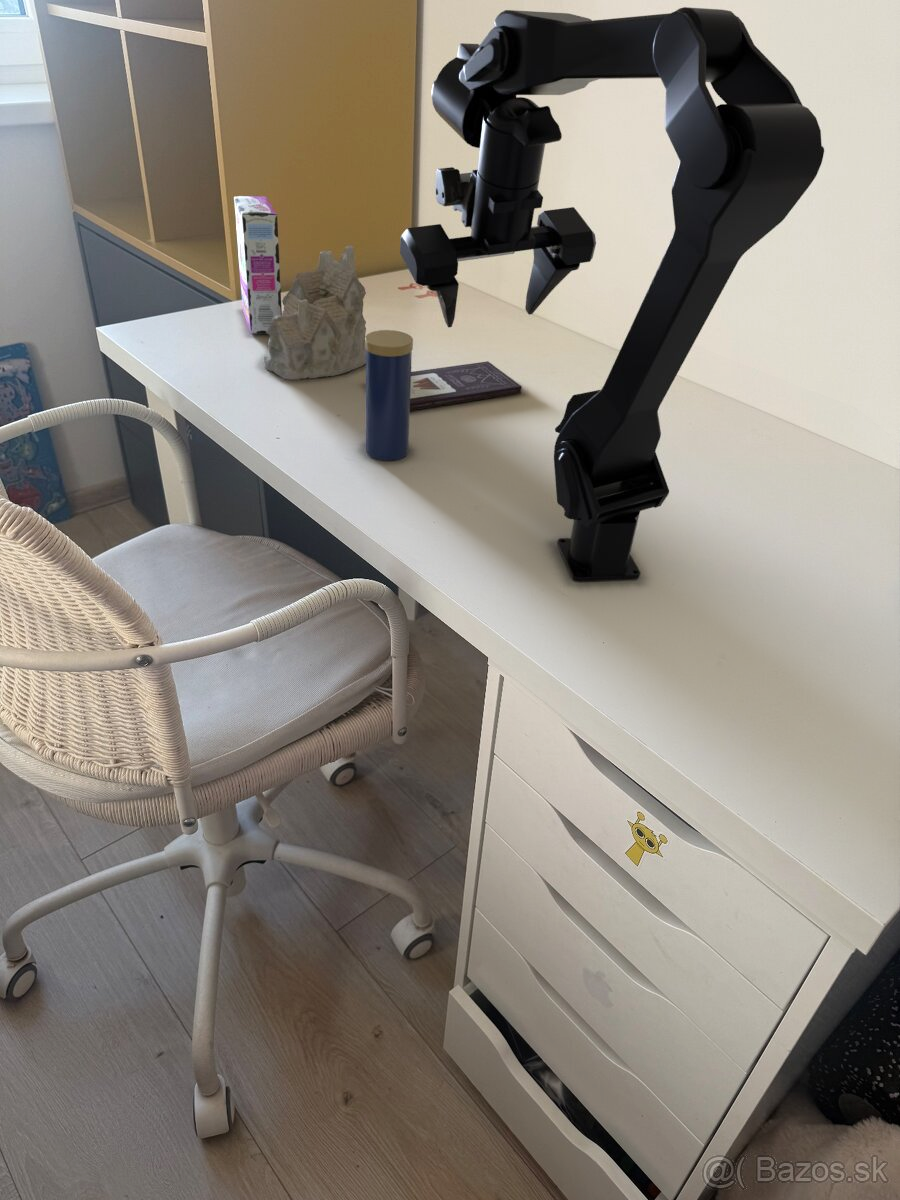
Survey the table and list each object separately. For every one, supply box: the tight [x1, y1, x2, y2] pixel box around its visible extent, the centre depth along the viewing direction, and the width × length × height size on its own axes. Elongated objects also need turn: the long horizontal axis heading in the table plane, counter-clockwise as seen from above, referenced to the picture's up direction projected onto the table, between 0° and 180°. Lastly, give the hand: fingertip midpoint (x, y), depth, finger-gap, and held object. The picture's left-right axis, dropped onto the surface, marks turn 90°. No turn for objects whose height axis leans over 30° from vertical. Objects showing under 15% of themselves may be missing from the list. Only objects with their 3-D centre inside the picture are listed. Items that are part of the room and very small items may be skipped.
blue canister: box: [365, 329, 414, 462], centre depth 90 cm, size 5×5×13 cm
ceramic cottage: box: [263, 245, 367, 381], centre depth 111 cm, size 16×16×15 cm
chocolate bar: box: [410, 360, 522, 411], centre depth 108 cm, size 9×1×18 cm
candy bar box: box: [233, 195, 283, 335], centre depth 119 cm, size 11×5×16 cm, turn 17°
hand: (488, 318), depth 88 cm, fingers open, 9 cm apart
